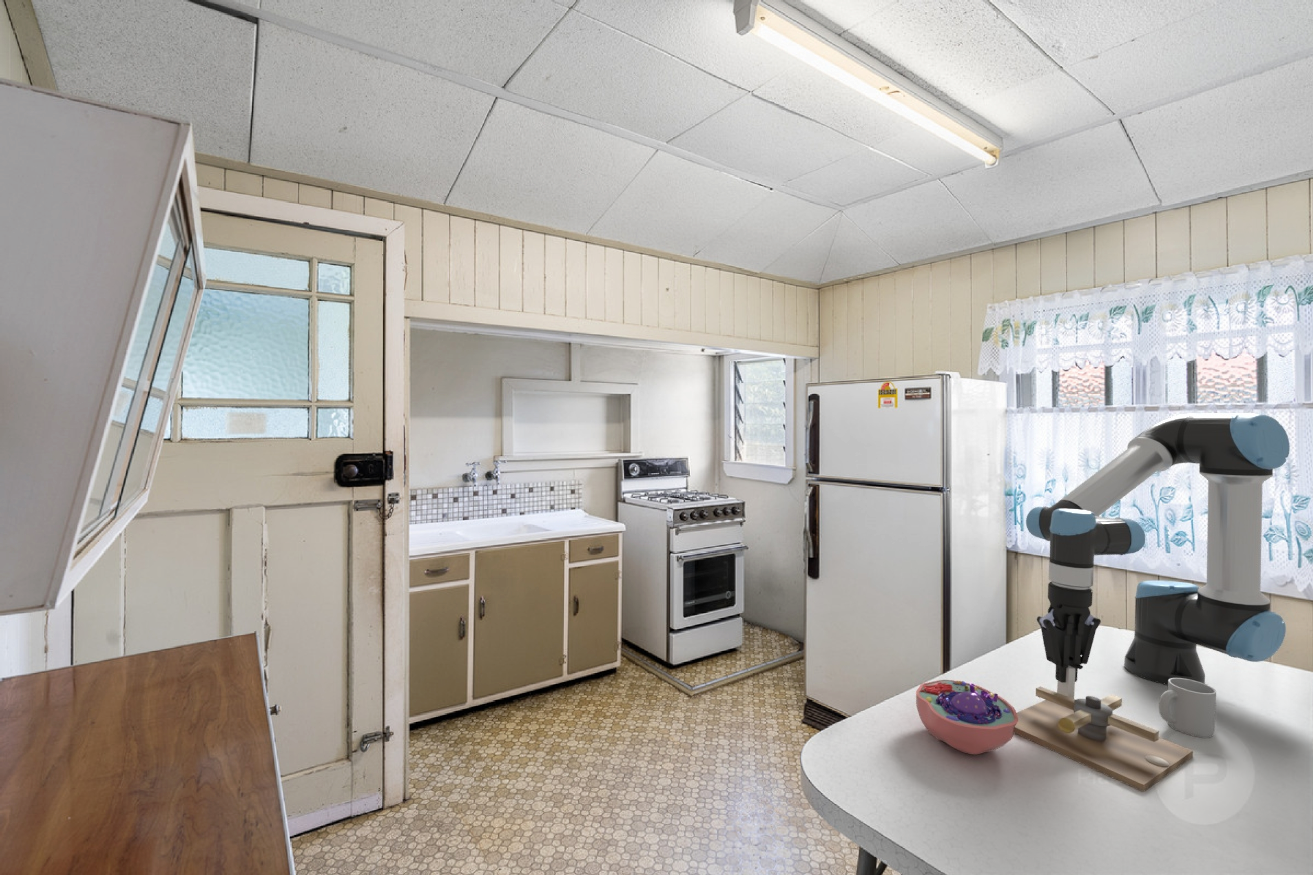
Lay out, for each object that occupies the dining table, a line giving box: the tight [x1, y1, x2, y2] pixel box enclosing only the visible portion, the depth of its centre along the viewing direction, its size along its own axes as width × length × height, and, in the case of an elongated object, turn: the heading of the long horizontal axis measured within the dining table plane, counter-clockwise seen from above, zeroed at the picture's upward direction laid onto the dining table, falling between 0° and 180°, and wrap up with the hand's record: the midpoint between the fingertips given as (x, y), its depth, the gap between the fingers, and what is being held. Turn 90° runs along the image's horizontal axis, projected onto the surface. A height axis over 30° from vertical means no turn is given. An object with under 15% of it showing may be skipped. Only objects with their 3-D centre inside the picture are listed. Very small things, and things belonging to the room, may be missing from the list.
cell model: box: [915, 679, 1018, 755], centre depth 112 cm, size 17×20×11 cm
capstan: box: [1035, 686, 1160, 742], centre depth 113 cm, size 22×20×4 cm
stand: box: [1013, 699, 1194, 792], centre depth 114 cm, size 21×24×4 cm
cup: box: [1158, 678, 1217, 739], centre depth 119 cm, size 7×10×9 cm
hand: (1065, 696), depth 121 cm, fingers closed
